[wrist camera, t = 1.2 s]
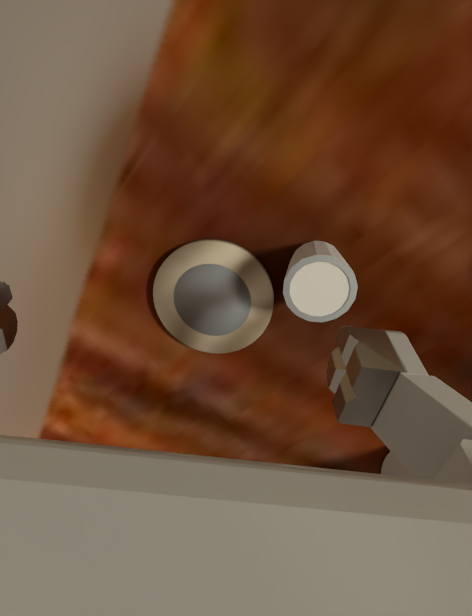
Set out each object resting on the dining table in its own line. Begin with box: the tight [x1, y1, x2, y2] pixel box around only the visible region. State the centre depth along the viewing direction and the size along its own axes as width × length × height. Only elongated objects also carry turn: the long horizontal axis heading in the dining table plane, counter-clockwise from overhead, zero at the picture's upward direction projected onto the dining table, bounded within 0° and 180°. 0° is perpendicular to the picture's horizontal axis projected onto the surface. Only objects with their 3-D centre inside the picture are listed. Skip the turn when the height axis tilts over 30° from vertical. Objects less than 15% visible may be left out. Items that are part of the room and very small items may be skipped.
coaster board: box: [153, 239, 274, 353], centre depth 45 cm, size 14×14×1 cm
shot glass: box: [283, 241, 358, 322], centre depth 39 cm, size 7×7×7 cm
